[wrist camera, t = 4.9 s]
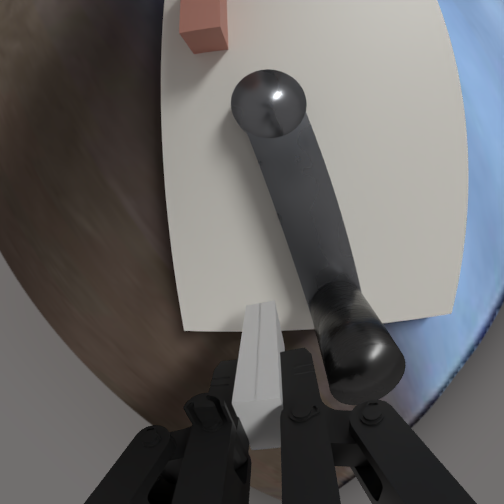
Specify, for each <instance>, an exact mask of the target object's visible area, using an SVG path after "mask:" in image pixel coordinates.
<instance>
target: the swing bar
mask: <svg viewBox="0 0 504 504" xmlns="http://www.w3.org/2000/svg"><path fill="white" fill-rule="evenodd" d="M306 107H307V102H306V96H305V93H304V91H303V89H302V87H301V86H300V84H299V83H298V82H297V81H296V80H295V79H294V78H293V77H291V76H290V75H288V74H286V73H284V72H281V71H277V70H270V69H266V70H259V71H255V72H253V73H250V74H249V75H247V76H245V77H244V78H243V79H242V80H241V81H240V82H239V83H238V84H237V85H236V87H235V89H234V91H233V93H232V97H231V110H232V113H233V116H234V118H235V120H236V121H237V123H238V124H239V126H240V128H241V129H242V130H243V131H244V132H245V133H246V134H248V137H249V140H250V142H251V145H252V147H253V150H254V153H255V155H256V158H257V161H258V163H259V166H260V169H261V171H262V174H263V177H264V179H265V182H266V185H267V187H268V190H269V193H270V196H271V198H272V201H273V204H274V207H275V210H276V212H277V215H278V218H279V221H280V224H281V227H282V229H283V232H284V235H285V238H286V241H287V244H288V247H289V250H290V253H291V255H292V258H293V261H294V264H295V267H296V270H297V273H298V276H299V279H300V282H301V285H302V289H303V292H304V295H305V298H306V301H307V304H308V307H309V310H310V313H311V317H312V321H313V324H314V328H315V332H316V336H317V339H318V343H319V347H320V351H321V355H322V359H323V363H324V367H325V371H326V375H327V379H328V383H329V387H330V391H331V394H332V395H333V397H334V398H335V399H336V400H338V401H339V402H341V403H344V404H348V405H359V404H360V403H362V402H365V401H368V400H378V399H380V398H382V397H383V396H385V395H386V394H388V393H389V392H390V391H391V390H393V389H394V388H395V387H396V385H397V384H398V383H399V381H400V380H401V378H402V376H403V374H404V371H405V359H404V356H403V354H402V353H401V351H400V350H399V348H398V346H397V345H396V343H395V342H394V340H393V339H392V337H391V336H390V334H389V333H388V331H387V330H386V328H385V326H384V325H383V323H382V322H381V320H380V319H379V318H378V316H377V315H376V313H375V312H374V310H373V309H372V307H371V306H370V304H369V303H368V301H367V300H366V299H365V297H364V296H363V294H362V292H361V288H360V283H359V279H358V275H357V271H356V266H355V262H354V258H353V255H352V251H351V247H350V243H349V239H348V236H347V232H346V228H345V225H344V221H343V218H342V215H341V211H340V208H339V205H338V201H337V198H336V195H335V192H334V189H333V185H332V182H331V179H330V176H329V173H328V170H327V167H326V164H325V162H324V159H323V156H322V153H321V150H320V148H319V145H318V142H317V139H316V137H315V134H314V131H313V129H312V126H311V124H310V121H309V118H308V116H307V113H306Z"/></svg>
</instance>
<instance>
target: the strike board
mask: <svg viewBox="0 0 504 504" xmlns="http://www.w3.org/2000/svg"><path fill="white" fill-rule="evenodd" d="M266 69H270V70H277V71H281V72H284V73H286V74H288V75H290V76H291V77H293V78H294V79H295V80H296V81H297V82H298V83H299V84H300V86H301V87H302V89H303V91H304V93H305V96H306V102H307V107H306V113H307V116H308V118H309V121H310V124H311V126H312V129H313V131H314V134H315V137H316V139H317V142H318V145H319V148H320V150H321V153H322V156H323V159H324V162H325V164H326V167H327V170H328V173H329V176H330V179H331V182H332V185H333V189H334V192H335V195H336V198H337V201H338V205H339V208H340V211H341V215H342V218H343V221H344V225H345V228H346V232H347V236H348V239H349V243H350V247H351V251H352V255H353V258H354V262H355V266H356V271H357V275H358V279H359V283H360V288H361V292H362V294H363V296H364V297H365V299H366V300H367V301H368V303H369V304H370V306H371V307H372V309H373V310H374V312H375V313H376V315H377V316H378V318H379V319H380V320H381V322H382V323H389V322H397V321H405V320H413V319H420V318H427V317H433V316H439V315H445V314H451V313H452V309H453V305H454V300H455V296H456V291H457V286H458V281H459V275H460V269H461V263H462V256H463V249H464V241H465V232H466V221H467V205H468V147H467V133H466V122H465V113H464V105H463V98H462V92H461V86H460V80H459V75H458V70H457V65H456V61H455V57H454V53H453V49H452V45H451V41H450V38H449V34H448V31H447V28H446V24H445V21H444V18H443V15H442V12H441V10H440V7H439V4H438V1H437V0H164V12H163V28H162V49H161V126H162V149H163V166H164V181H165V193H166V204H167V215H168V224H169V233H170V242H171V250H172V257H173V265H174V272H175V279H176V285H177V292H178V298H179V304H180V310H181V316H182V321H183V327H184V331H216V332H242V329H243V323H244V316H245V309H246V305H252V304H257V303H263V302H268V301H274V300H275V304H276V308H277V313H278V318H279V322H280V327H281V331H286V330H307V329H315V328H314V324H313V321H312V317H311V313H310V310H309V307H308V304H307V301H306V298H305V295H304V292H303V289H302V285H301V282H300V279H299V276H298V273H297V270H296V267H295V264H294V261H293V258H292V255H291V253H290V250H289V247H288V244H287V241H286V238H285V235H284V232H283V229H282V227H281V224H280V221H279V218H278V215H277V212H276V210H275V207H274V204H273V201H272V198H271V196H270V193H269V190H268V187H267V185H266V182H265V179H264V177H263V174H262V171H261V169H260V166H259V163H258V161H257V158H256V155H255V153H254V150H253V147H252V145H251V142H250V140H249V137H248V134H246V133H245V132H244V131H243V130H242V129H241V128H240V126H239V124H238V123H237V121H236V120H235V118H234V116H233V113H232V110H231V97H232V93H233V91H234V89H235V87H236V85H237V84H238V83H239V82H240V81H241V80H242V79H243V78H244V77H245V76H247V75H249V74H250V73H253V72H255V71H259V70H266Z"/></svg>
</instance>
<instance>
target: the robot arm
mask: <svg viewBox="0 0 504 504" xmlns="http://www.w3.org/2000/svg"><path fill="white" fill-rule="evenodd" d="M210 386H211V387H210V389H209V393H203V394H199V395H197V396H194V397H192V398H191V399H190V400H189V401H187V402H186V404H185V406H184V407H183V408H184V410H185V412H186V414H187V416H188V417H189V419H190V421H191V423H192V426H191V427H188V428H186V429H182V430H178V431H174V432H170V433H169V431H168V430H167V429H166V428H164V427H162V426H158V425H153V426H148V427H146V428H144V429H142V430H141V431H140V432H139V433H138V434H137V435H136V436H135V437H134V439H133V440H132V441H131V443H130V444H129V446H128V447H127V448H126V449H125V451H124V452H123V453H122V455H121V456H120V457H119V459H118V460H117V461H116V463H115V464H114V465H113V467H112V468H111V469H110V470H109V472H108V473H107V474H106V476H105V477H104V479H103V480H102V481H101V482H100V484H99V485H98V486H97V487H96V489H95V490H94V491H93V493H92V494H91V495H90V496H89V498H88V499H87V500H86V502H85V503H84V504H249V491H250V477H251V458H250V456H249V454H248V450H249V444H250V447H251V449H252V450H259V449H269V448H279V447H281V467H282V504H341V503H340V496H339V489H338V483H337V477H336V471H335V466H350V467H351V469H352V471H353V472H354V474H355V476H356V477H357V479H358V481H359V482H360V484H361V486H362V488H363V489H364V491H365V493H366V494H367V496H368V497H369V499H370V501H371V503H372V504H477V503H476V502H475V501H474V500H473V499H472V498H471V497H470V496H469V494H468V493H467V492H466V491H465V490H464V488H463V487H462V486H461V485H460V484H459V483H458V482H457V480H456V479H455V478H454V477H453V476H452V475H451V474H450V473H449V471H448V470H447V469H446V468H445V467H444V465H443V464H442V463H441V462H440V461H439V460H438V459H437V458H436V456H435V455H434V454H433V453H432V452H431V451H430V449H429V448H428V447H427V446H426V445H425V444H424V443H423V442H422V440H421V439H420V438H419V437H418V436H417V435H416V434H415V432H414V431H413V430H412V429H411V428H410V427H409V425H408V424H407V423H406V422H405V421H404V420H403V419H402V417H401V416H400V415H399V414H398V413H397V412H396V411H395V409H394V408H393V407H392V406H391V405H390V404H388V403H387V402H385V401H381V400H368V401H365V402H362V403H360V404H359V405H357V406H355V408H354V409H353V410H352V411H341V410H334V409H332V408H329V407H328V406H326V405H325V404H324V403H323V402H322V400H321V398H320V393H319V388H318V384H317V379H316V374H315V369H314V365H313V360H312V355H311V353H310V352H309V351H308V350H306V349H305V348H300V349H294V350H289V351H285V346H284V341H283V336H282V332H281V327H280V322H279V318H278V313H277V308H276V304H275V300H274V301H268V302H263V303H257V304H252V305H246V309H245V316H244V323H243V329H242V336H241V343H240V350H239V357H238V359H237V360H229V361H221V362H220V363H219V365H218V366H217V367H216V368H215V369H214V373H213V377H212V381H211V385H210Z"/></svg>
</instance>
